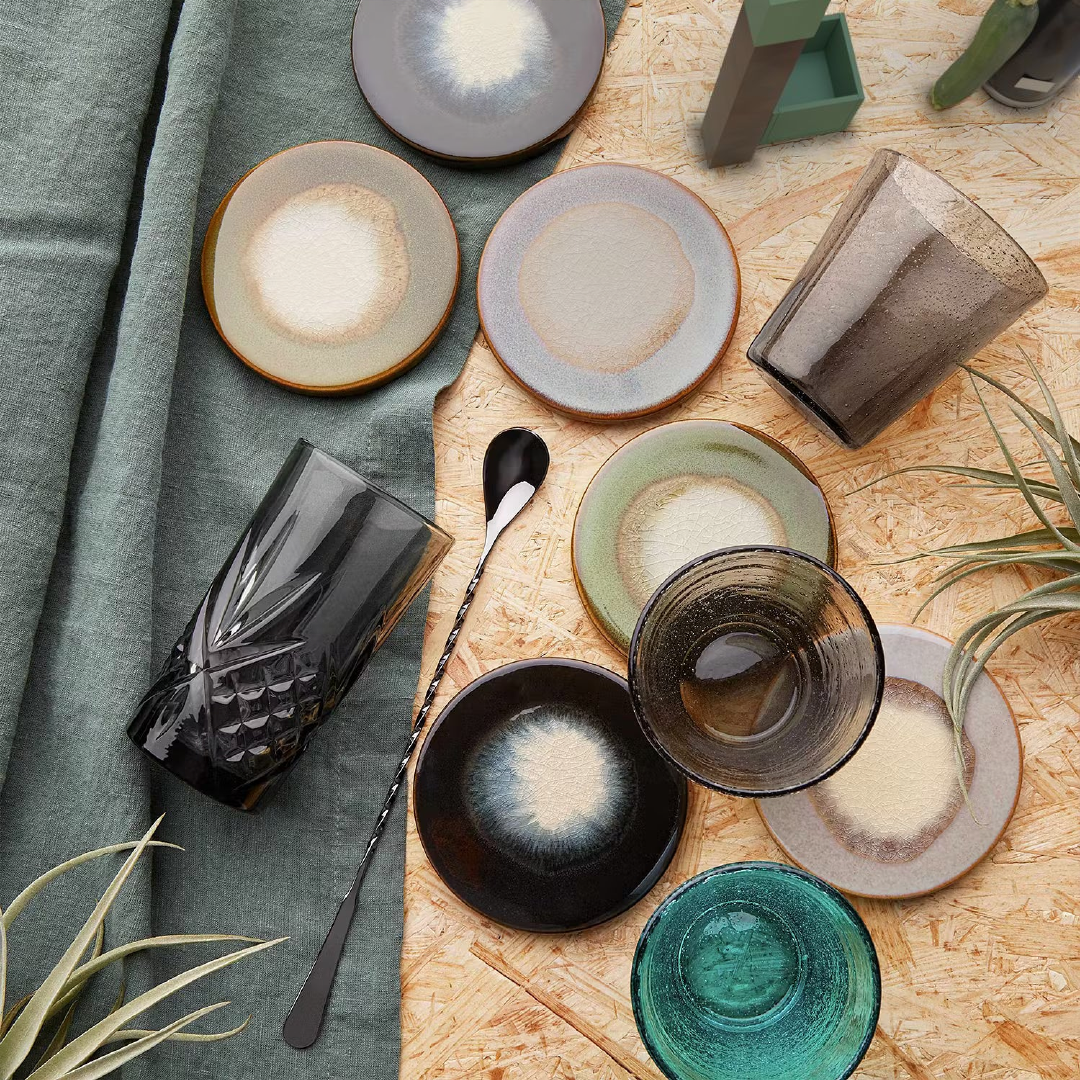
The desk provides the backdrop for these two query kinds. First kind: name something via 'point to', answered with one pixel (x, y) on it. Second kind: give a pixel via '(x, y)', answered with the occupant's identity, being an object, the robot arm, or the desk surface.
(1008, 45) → the vegetable
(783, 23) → the sage block
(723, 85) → the stand
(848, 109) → the sage bin
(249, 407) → the desk surface
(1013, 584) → the desk surface
